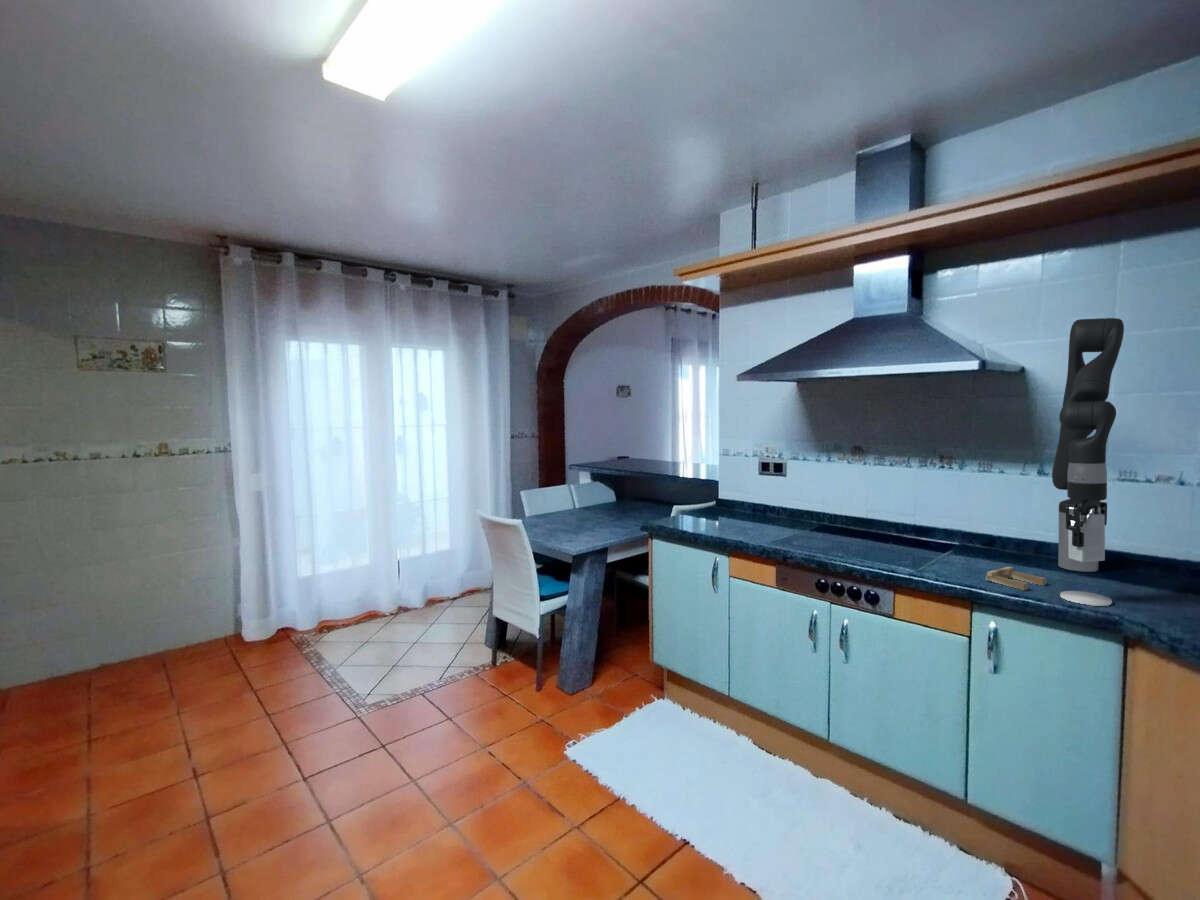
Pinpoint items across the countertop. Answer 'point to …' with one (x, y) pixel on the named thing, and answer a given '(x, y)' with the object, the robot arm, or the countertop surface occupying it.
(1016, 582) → the rack
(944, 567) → the countertop surface
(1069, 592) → the coaster
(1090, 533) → the skincare box
